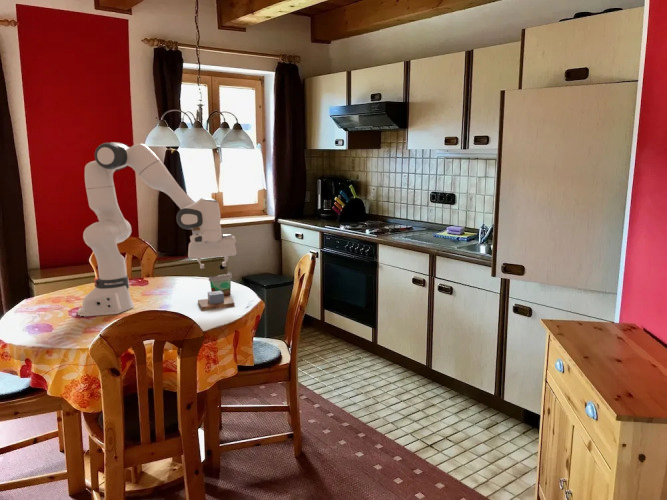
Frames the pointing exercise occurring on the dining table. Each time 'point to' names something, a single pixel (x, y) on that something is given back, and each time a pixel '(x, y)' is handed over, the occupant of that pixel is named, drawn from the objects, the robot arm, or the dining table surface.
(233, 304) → the board
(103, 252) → the robot arm
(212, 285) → the food container
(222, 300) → the grey drawer unit
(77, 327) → the dining table surface
